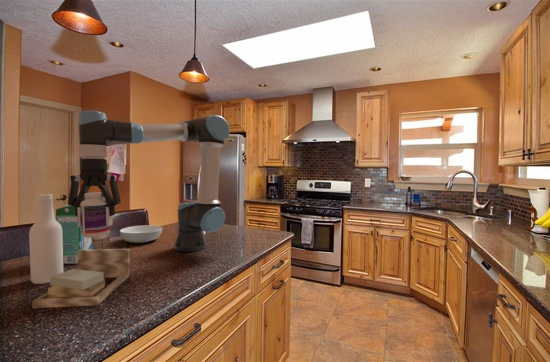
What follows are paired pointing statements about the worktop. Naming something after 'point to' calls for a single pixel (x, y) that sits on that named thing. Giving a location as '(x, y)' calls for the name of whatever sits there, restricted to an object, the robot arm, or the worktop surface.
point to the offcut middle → (74, 290)
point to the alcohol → (45, 243)
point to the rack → (98, 261)
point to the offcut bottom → (81, 296)
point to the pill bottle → (94, 215)
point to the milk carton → (71, 234)
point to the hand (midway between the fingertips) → (95, 225)
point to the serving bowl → (141, 233)
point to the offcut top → (77, 279)
